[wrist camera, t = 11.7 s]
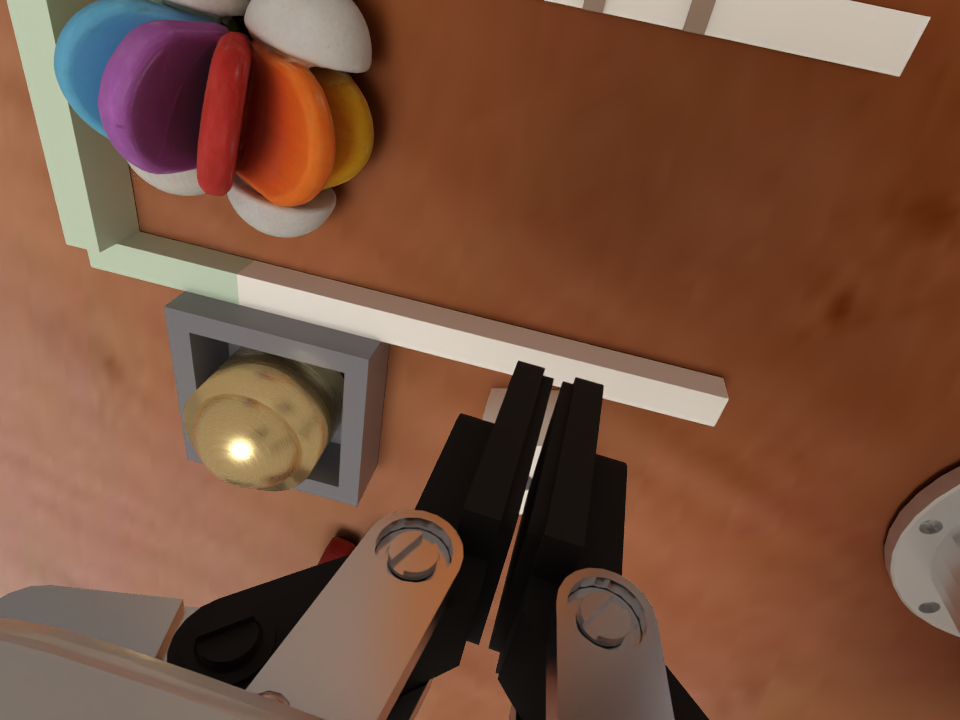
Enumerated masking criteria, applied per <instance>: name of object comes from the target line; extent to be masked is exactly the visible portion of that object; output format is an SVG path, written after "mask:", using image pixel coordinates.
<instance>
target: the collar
mask: <svg viewBox="0 0 960 720" xmlns="http://www.w3.org/2000/svg"><path fill="white" fill-rule="evenodd" d="M164 309H165V316H166V322H167V329H168V335H169V342H170V348H171V355H172V362H173V368H174V375H175V381H176V388H177V394H178V401H179V407H180V414H181V420H182V427H183V434H184V440H185V447H186V453H187V460H191V461H195V462H198V463H202V462H201V460H200V458H199V457H198V455H197V452H196V450H195V448H194V447H193V445H192V444H191V442H190V440H189V438H188V436H187V433H186V431H185V427H184V422H183V412H184V407H185V404H186V402H187V400H188V399H189V397H190V396H191V395H192V394H193V393H194V392H195V391H196V390H197V389H198V388H199V387H200V386H201V385H202V384H203V383H204V382H205V381H206V380H207V379H208V378H209V377H210V376H211V375H212V374H213V373H214V372H215V371H216V370H217V369H218V368H219V367H220V366H221V365H222V364H223V363H224V362H225V361H226V360H227V359H228V358H230V357H231V356H232V355H233V354H234V353H235V352H236V351H237V350H238V349H239V348H240V347H241V346H243V347H247V348H251V349H254V350H258V351H262V352H266V353H270V354H273V355H277V356H281V357H285V358H289V359H293V360H296V361H300V362H304V363H308V364H312V365H316V366H319V367H323V368H327V369H331V370H335V371H338V372H340V374H341V375H342V377H343V379H344V394H343V413H342V423H341V424H340V426H339V428H338V429H337V431H336V432H335V434H334V436H333V437H332V439H331V441H330V442H329V444H328V445H327V447H326V449H325V450H324V452H323V454H322V455H321V457H320V458H319V460H318V462H317V463H316V465H315V467H314V468H313V470H312V471H311V473H310V475H309V476H308V477H307V478H306V480H305V481H303V482H302V483H301V484H299V485H298V486H296V487H293V488H292V489H296V490H300V491H303V492H307V493H310V494H314V495H318V496H321V497H325V498H329V499H332V500H336V501H339V502H343V503H347V504H350V505H354V506H358V504H359V502H360V499H361V497H362V495H363V493H364V491H365V489H366V487H367V485H368V483H369V481H370V479H371V477H372V475H373V473H374V471H375V469H376V467H377V463H378V453H379V444H380V434H381V424H382V414H383V404H384V395H385V385H386V375H387V365H388V356H389V346H390V343H386V342H382V341H378V340H374V339H370V338H366V337H362V336H359V335H355V334H351V333H347V332H343V331H339V330H335V329H331V328H327V327H324V326H320V325H316V324H312V323H308V322H304V321H300V320H296V319H292V318H288V317H285V316H281V315H277V314H273V313H269V312H265V311H261V310H257V309H253V308H250V307H246V306H242V305H238V304H234V303H230V302H226V301H222V300H218V299H215V298H211V297H207V296H203V295H199V294H195V293H191V292H187V291H185V292H184V293H182V294H181V295H180V296H178V297H177V298H175V299H174V300H173V301H171V302H170V303H169V304H167V305H166V306H164ZM202 464H203V463H202Z"/></svg>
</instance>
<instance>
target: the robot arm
mask: <svg viewBox="0 0 960 720" xmlns="http://www.w3.org/2000/svg"><path fill="white" fill-rule="evenodd" d="M544 371H545V368H543V367H540V366H536V365H533V364H529V363H526V362H522V361H519V360H518V362H517V365H516V367H515V370H514V373H513V375H512V378H511V381H510V383H509V386H508V389H507V391H506V394H505V397H504V399H503V402H502V405H501V408H500V410H499V413H498V416H497V418H496V421H495V423H492V422H488V421H485V420H482V419H478V418H475V417H472V416H468V415H465V414H462V413H461V414H460V415H459V417H458V418H457V420H456V423H455V425H454V427H453V429H452V431H451V433H450V435H449V437H448V440H447V442H446V444H445V446H444V448H443V450H442V452H441V455H440V457H439V459H438V461H437V463H436V465H435V467H434V470H433V472H432V474H431V476H430V478H429V480H428V482H427V485H426V487H425V489H424V491H423V493H422V495H421V497H420V499H419V502H418V504H417V506H416V508H415V510H403V511H398V512H393V513H391V514H389V515H387V516H385V517H383V518H381V519H380V520H379V521H378V522H377V523H376V524H374V525H373V526H372V527H371V528H370V530H369V531H368V532H367V534H366V535H365V536H364V537H363V539H362V540H361V541H360V543H359V544H358V545H357V547H356V548H355V549H354V550H353V552H352V553H351V554H349V555H346V556H343V557H340V558H337V559H334V560H331V561H328V562H325V563H322V564H320V565H317V566H314V567H311V568H308V569H305V570H302V571H299V572H296V573H293V574H290V575H287V576H284V577H281V578H278V579H275V580H273V581H270V582H267V583H264V584H261V585H258V586H255V587H252V588H249V589H246V590H243V591H240V592H237V593H234V594H231V595H228V596H226V597H223V598H220V599H217V600H215V601H213V602H211V603H209V604H207V605H204V606H202V607H200V608H194V607H185V606H184V604H183V599H176V598H166V597H157V596H148V595H138V594H129V593H119V592H110V591H101V590H91V589H82V588H72V587H63V586H54V585H45V586H30V587H27V588H24V589H20V590H17V591H14V592H11V593H8V594H7V595H5V596H3V597H2V598H0V720H414V719H415V717H416V715H417V713H418V711H419V709H420V707H421V705H422V703H423V701H424V699H425V697H426V695H427V693H428V691H429V689H430V686H431V683H432V680H433V678H434V677H437V676H439V675H441V674H443V673H445V672H447V671H449V670H451V669H453V668H455V667H457V666H459V664H460V660H461V657H462V653H463V650H464V647H465V643H466V641H469V642H472V643H474V644H477V645H479V642H480V639H481V636H482V633H483V630H484V626H485V623H486V620H487V617H488V614H489V610H490V607H491V604H492V601H493V598H494V594H495V591H496V588H497V585H498V582H499V579H500V575H501V572H502V569H503V566H504V563H505V559H506V556H507V553H508V550H509V547H510V543H511V540H512V537H513V533H514V530H515V527H516V523H517V520H518V516H519V512H520V508H521V505H522V501H523V497H524V493H525V489H526V485H527V481H528V478H529V474H530V470H531V466H532V462H533V458H534V454H535V451H536V447H537V443H538V439H539V435H540V431H541V427H542V423H543V420H544V416H545V412H546V408H547V404H548V400H549V396H550V393H551V389H552V385H553V381H554V378H551V377H547V376H544V375H543V374H544ZM603 390H604V385H602V384H599V383H595V382H592V381H588V380H585V379H581V378H578V377H576V378H575V380H574V383H573V384H571V383H568V382H564V381H563V382H562V385H561V388H560V391H559V394H558V397H557V401H556V404H555V407H554V410H553V413H552V416H551V420H550V423H549V426H548V429H547V432H546V436H545V439H544V442H543V445H542V448H541V451H540V455H539V458H538V461H537V464H536V467H535V471H534V474H533V477H532V480H531V483H530V487H529V490H528V494H527V498H526V502H525V505H524V509H523V513H522V517H521V521H520V525H519V529H518V533H517V537H516V541H515V545H514V549H513V553H512V557H511V561H510V565H509V569H508V573H507V577H506V581H505V585H504V589H503V593H502V597H501V601H500V605H499V609H498V612H497V616H496V620H495V624H494V628H493V632H492V636H491V640H490V644H489V649H492V650H495V651H498V652H500V656H499V660H498V664H497V669H496V673H498V674H499V676H498V680H499V682H500V684H501V685H502V687H503V689H504V691H505V692H506V694H507V696H508V698H509V699H510V701H511V703H512V705H511V710H510V715H509V720H709V719H708V718H707V716H706V715H705V714H704V713H703V711H702V710H701V709H700V708H699V706H698V705H697V704H696V703H695V701H694V700H693V699H692V698H691V696H690V695H689V694H688V693H687V691H686V690H685V689H684V687H683V686H682V685H681V684H680V682H679V681H678V680H677V679H676V677H675V676H674V675H673V674H672V672H671V671H670V670H669V669H668V667H667V666H666V665H665V662H664V656H663V650H662V644H661V638H660V633H659V627H658V621H657V618H656V615H655V612H654V609H653V607H652V605H651V604H650V602H649V601H648V599H647V598H646V596H645V595H644V593H643V592H642V591H641V590H640V589H639V588H637V587H636V586H635V585H634V584H633V583H632V582H631V581H629V580H628V579H626V578H624V577H623V576H622V561H623V541H624V521H625V502H626V482H627V465H626V463H624V462H621V461H618V460H614V459H611V458H608V457H604V456H601V455H598V454H596V447H597V439H598V431H599V423H600V414H601V406H602V398H603ZM884 557H885V566H886V569H887V572H888V574H889V577H890V580H891V582H892V584H893V586H894V588H895V590H896V592H897V594H898V595H899V597H900V599H901V601H902V602H903V603H904V604H905V605H906V606H907V607H908V608H909V610H910V611H911V612H912V613H914V614H915V615H916V616H918V617H919V618H921V619H922V620H924V621H926V622H927V623H929V624H930V625H932V626H934V627H936V628H938V629H941V630H943V631H945V632H948V633H950V634H952V635H955V636H958V637H960V466H959V467H957V468H955V469H953V470H952V471H950V472H948V473H946V474H944V475H942V476H941V477H939V478H938V479H936V480H935V481H934V482H932V483H931V484H930V485H928V486H927V487H926V488H924V489H923V490H922V491H920V492H919V493H918V494H916V496H915V497H914V498H913V499H912V500H911V501H910V502H909V503H908V504H907V505H906V506H905V507H904V508H903V509H902V510H901V511H900V513H899V514H898V516H897V518H896V519H895V521H894V523H893V524H892V526H891V528H890V529H889V532H888V536H887V539H886V543H885V546H884Z"/></svg>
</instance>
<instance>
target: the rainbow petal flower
mask: <svg viewBox="0 0 960 720" xmlns="http://www.w3.org/2000/svg"><path fill="white" fill-rule="evenodd" d="M231 16H244V22H245V26H246V27H247V29H248V31H249V34H250V36H251V37H252V38H253V41H250V40H249V38H248V36H247V35H245V34H242V33H239V30H238V26H237V23H236V21H235V20H234V19H232V18H231ZM371 60H372V46H371V38H370V34H369V30H368V27H367V24H366V22H365V20H364V18H363V15H362V14H361V12H360V10H359V9H358V7H357V6H356V4H355V3H354V2H353V1H352V0H98V1H96V2H93V3H91V4H89V5H87V6H86V7H84V8H82V9H81V10H80V11H78V12H77V13H76V14H75V15H74V16H73V17H72V18H71V19H70V20H69V21H68V22H67V24H66V25H65V26H64V28H63V29H62V31H61V33H60V35H59V37H58V39H57V43H56V47H55V52H54V71H55V75H56V79H57V82H58V84H59V86H60V89H61V91H62V93H63V95H64V96H65V98H66V100H67V101H68V103H69V104H70V105H71V107H72V108H73V109H74V111H75V112H76V113H77V114H78V115H79V116H80V117H81V118H82V119H83V120H84V121H85V122H86V123H87V124H88V125H89V126H91V127H92V128H93V129H94V130H96V131H97V132H98V133H100V134H101V135H103V136H105V137H106V138H108V139H109V140H110V142H111V143H112V145H113V146H114V148H115V149H116V150H117V151H118V152H119V153H120V154H121V156H122V157H124V158H125V159H126V160H127V162H128V163H129V165H130V166H131V168H132V169H133V170H134V171H135V172H136V173H137V174H138V175H139V176H140V177H141V178H142V179H144V180H145V181H146V182H148V183H149V184H151V185H152V186H154V187H156V188H158V189H160V190H162V191H165V192H168V193H171V194H176V195H184V196H194V195H201V194H205V193H207V194H209V195H214V196H223V195H225V194H226V193H227V195H228V198H229V200H230V202H231V204H232V206H233V207H234V209H235V210H236V212H237V213H238V214H239V215H240V217H241V218H242V219H243V220H244V221H246V222H247V223H248V224H249V225H251V226H252V227H254V228H255V229H257V230H259V231H261V232H263V233H265V234H268V235H272V236H276V237H297V236H301V235H305V234H307V233H310V232H312V231H314V230H315V229H317V228H318V227H320V226H321V225H322V224H323V223H324V222H325V221H326V220H327V219H328V217H329V216H330V215H331V213H332V211H333V209H334V208H335V205H336V194H335V192H334V191H333V189H332V188H331V187H335V186H337V185H340V184H342V183H345V182H347V181H349V180H350V179H352V178H353V177H354V176H356V175H357V174H358V173H359V172H360V171H361V170H362V169H363V167H364V166H365V165H366V163H367V162H368V160H369V158H370V155H371V152H372V149H373V142H374V128H373V120H372V116H371V113H370V109H369V106H368V103H367V101H366V99H365V97H364V95H363V94H362V92H361V91H360V89H359V88H358V86H357V85H356V83H355V82H354V81H353V80H352V77H351V76H350V75H349V74H347V73H346V72H351V73H361V72H366V71H367V70H368V69H369V68H370V66H371ZM344 71H345V72H344Z"/></svg>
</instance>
